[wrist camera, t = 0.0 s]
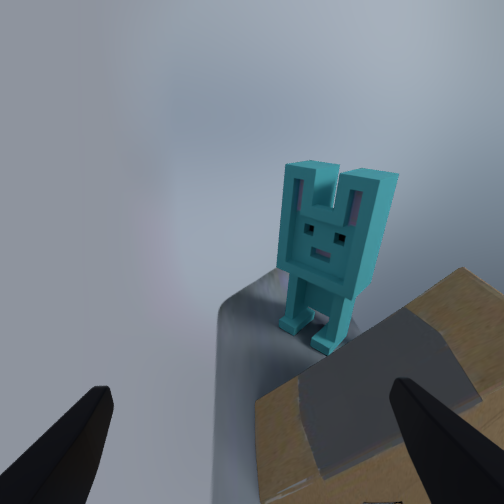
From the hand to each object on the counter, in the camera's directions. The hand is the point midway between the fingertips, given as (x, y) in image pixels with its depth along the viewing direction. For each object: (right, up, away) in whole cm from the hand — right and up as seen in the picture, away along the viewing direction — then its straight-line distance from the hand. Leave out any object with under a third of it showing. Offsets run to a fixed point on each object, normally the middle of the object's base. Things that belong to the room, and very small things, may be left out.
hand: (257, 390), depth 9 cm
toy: (+8, -6, +28) cm, 29 cm away
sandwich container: (+8, -12, +15) cm, 21 cm away
